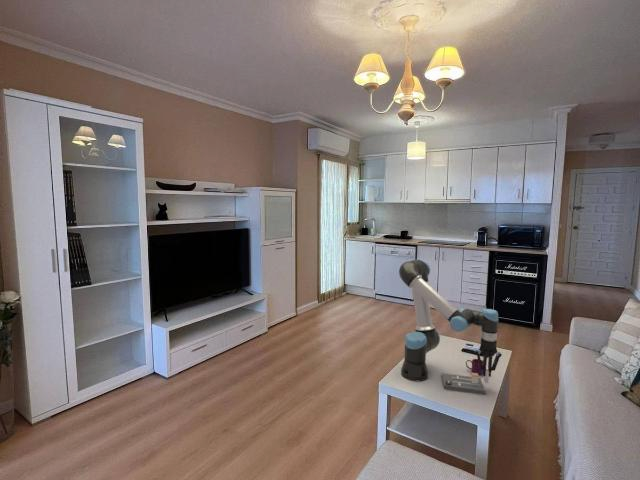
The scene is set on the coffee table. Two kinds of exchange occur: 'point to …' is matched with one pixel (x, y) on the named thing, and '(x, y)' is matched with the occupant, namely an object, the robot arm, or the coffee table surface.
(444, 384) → the console
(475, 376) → the fader
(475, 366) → the mug
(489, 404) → the coffee table surface
